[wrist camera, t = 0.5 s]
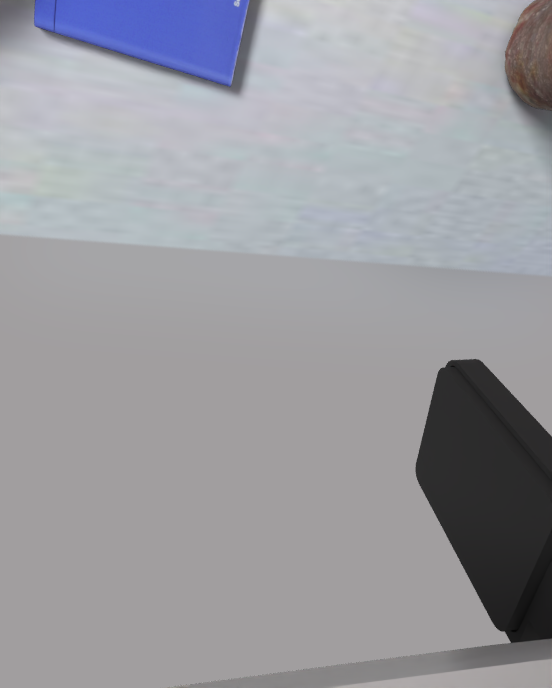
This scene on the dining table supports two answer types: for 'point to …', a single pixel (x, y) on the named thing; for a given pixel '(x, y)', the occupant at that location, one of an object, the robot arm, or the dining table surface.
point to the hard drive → (156, 30)
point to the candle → (532, 55)
